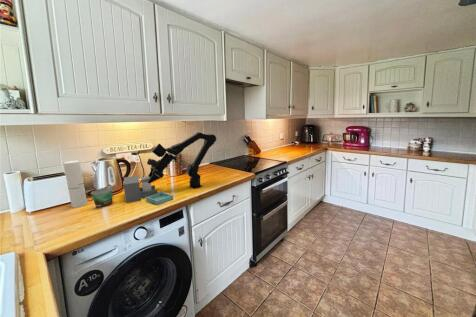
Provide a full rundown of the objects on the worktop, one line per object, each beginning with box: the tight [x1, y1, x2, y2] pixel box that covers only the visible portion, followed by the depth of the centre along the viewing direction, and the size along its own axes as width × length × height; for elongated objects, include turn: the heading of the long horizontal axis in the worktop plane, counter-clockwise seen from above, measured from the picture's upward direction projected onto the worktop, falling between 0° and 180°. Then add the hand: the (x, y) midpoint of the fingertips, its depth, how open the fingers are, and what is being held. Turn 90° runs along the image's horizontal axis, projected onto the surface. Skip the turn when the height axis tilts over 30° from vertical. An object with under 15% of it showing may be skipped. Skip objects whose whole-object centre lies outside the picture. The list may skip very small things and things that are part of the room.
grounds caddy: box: [140, 176, 152, 191], centre depth 135 cm, size 5×5×11 cm
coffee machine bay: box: [123, 175, 158, 204], centre depth 133 cm, size 17×16×11 cm
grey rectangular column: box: [62, 160, 88, 208], centre depth 120 cm, size 7×7×25 cm
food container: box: [91, 184, 114, 209], centre depth 121 cm, size 12×6×10 cm, turn 168°
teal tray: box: [145, 191, 174, 206], centre depth 126 cm, size 11×11×2 cm
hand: (147, 181), depth 135 cm, fingers open, 9 cm apart
